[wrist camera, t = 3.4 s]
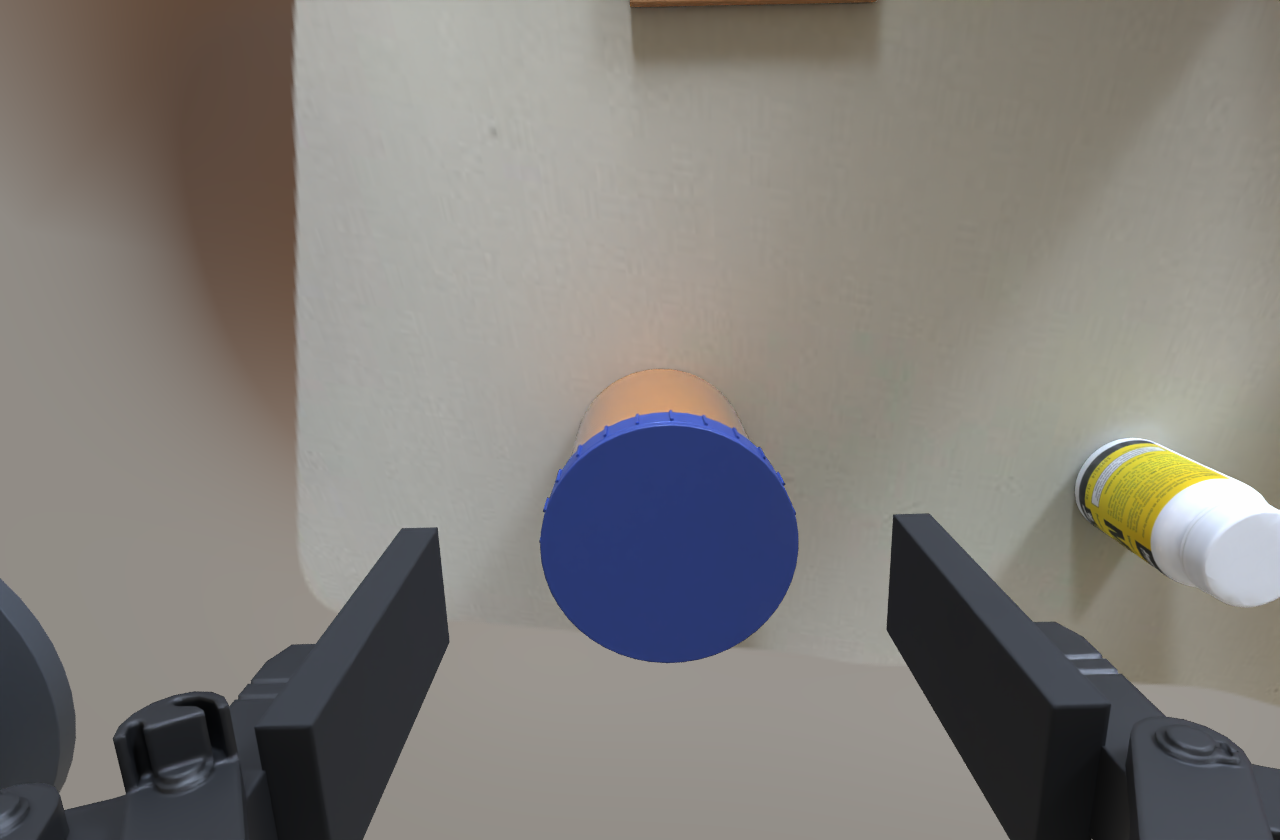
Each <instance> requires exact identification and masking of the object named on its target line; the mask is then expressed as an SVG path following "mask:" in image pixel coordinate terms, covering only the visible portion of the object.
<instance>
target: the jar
mask: <svg viewBox="0 0 1280 840" xmlns="http://www.w3.org/2000/svg"><path fill="white" fill-rule="evenodd" d="M669 410H672V412H678V413H689V414H693V415H698V416H702V415H703V414H704V415H706V418H709V419H712V420H715V421H718V422H720V423H722V424H724V425H726V426H728V427H730V428H733V427H735V428H736V430H737V432H738V433H740V434H741V435H743V436H744V437H746V438H747V439H748V440H749V438H748V436H747V434H746V432H745V429H744V427H743V425H742V423H741V421H740V419H739V417H738V415H737V413H736V411H735V409H734V408H733V406H732V405H731V403H730V402H729V401H728V400H727V398H726V397H725V396H724V395H723V394H722V393H721V392H720V391H719V390H718V389H716V388H715V387H714V386H713V385H711V384H710V383H708V382H707V381H705V380H703V379H701V378H699V377H697V376H695V375H692V374H689V373H686V372H683V371H678V370H672V369H651V370H645V371H640V372H636V373H633V374H630V375H628V376H625V377H623V378H621V379H619V380H617V381H616V382H614V383H613V384H611V385H610V386H608V387H607V388H606V389H605V390H603V391H602V392H601V393H600V394H599V395H598V396H597V397H596V398H595V400H594V401H593V402H592V403H591V405H590V406H589V408H588V409H587V411H586V412H585V414H584V417H583V419H582V421H581V423H580V427H579V430H578V433H577V437H576V440H575V444H574V448H573V451H572V455H571V457H572V456H573V454H574V453H575V452H576V451H577V449H578V446H579V445H580V444H581V445H583V444H584V443H586V442H587V441H588V440H589V439H590V438H592V437H593V436H594V435H596V434H597V433H599V432H601V431H602V430H604V427H605V426H606V425H607V426H608V427H609V426H611V425H614V424H616V423H618V422H620V421H622V420H626V419H629V418H632V417H635V416H636V414H639V415H644V414H650V413H659V412H669ZM749 441H750V440H749Z"/></svg>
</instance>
